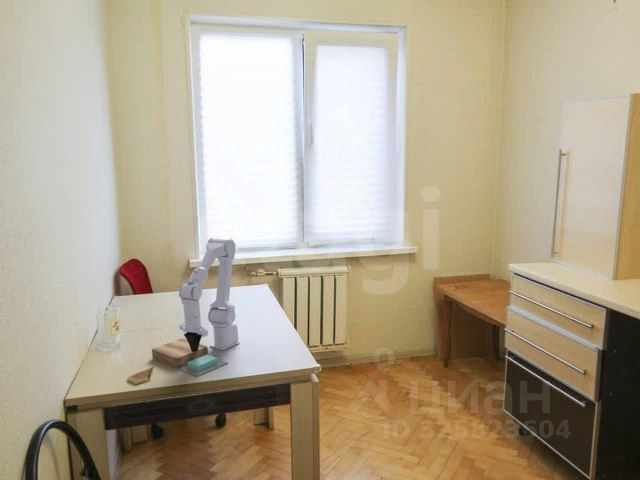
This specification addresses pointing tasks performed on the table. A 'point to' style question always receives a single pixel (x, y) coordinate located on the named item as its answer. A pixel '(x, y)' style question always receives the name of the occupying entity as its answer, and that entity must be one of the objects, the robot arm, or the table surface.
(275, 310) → the table surface
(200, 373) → the grey flat slab
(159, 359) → the brown wooden flat block
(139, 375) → the shard
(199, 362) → the aqua rectangular block
